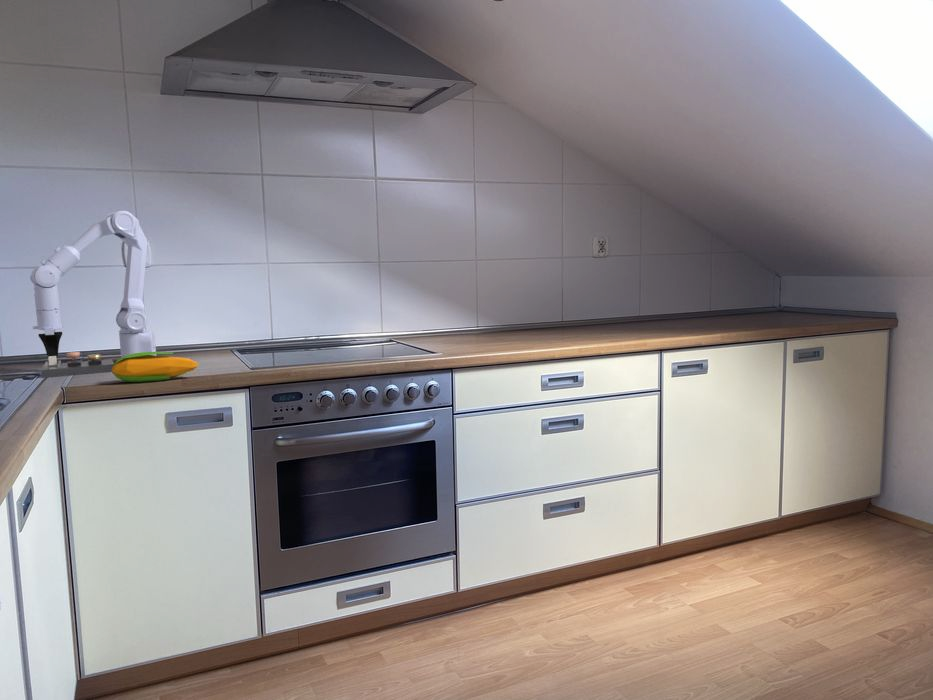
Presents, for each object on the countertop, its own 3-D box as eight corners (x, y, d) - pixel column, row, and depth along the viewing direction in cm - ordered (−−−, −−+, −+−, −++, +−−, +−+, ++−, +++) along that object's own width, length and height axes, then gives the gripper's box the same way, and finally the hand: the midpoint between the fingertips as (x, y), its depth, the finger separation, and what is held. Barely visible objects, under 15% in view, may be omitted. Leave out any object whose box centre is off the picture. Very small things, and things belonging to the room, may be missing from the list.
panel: (112, 366, 199) (111, 355, 199) (114, 371, 190) (113, 360, 189) (43, 371, 191) (42, 361, 191) (42, 377, 182) (41, 366, 181)
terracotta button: (80, 358, 192) (79, 351, 191) (80, 360, 189) (79, 352, 189) (67, 359, 190) (66, 352, 190) (67, 361, 187) (66, 353, 187)
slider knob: (57, 363, 190) (56, 355, 190) (56, 364, 189) (56, 356, 188) (49, 364, 189) (48, 356, 189) (49, 365, 188) (48, 357, 187)
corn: (112, 351, 174) (197, 346, 181) (115, 380, 175) (199, 374, 182) (108, 356, 167) (197, 351, 174) (111, 387, 169) (199, 380, 175)
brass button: (101, 361, 194) (100, 353, 194) (101, 362, 191) (100, 355, 191) (88, 362, 193) (87, 354, 192) (88, 363, 190) (87, 356, 190)
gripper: (32, 308, 195) (37, 356, 197) (29, 312, 182) (34, 363, 184) (61, 307, 198) (66, 354, 200) (60, 310, 186) (65, 360, 188)
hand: (53, 358), depth 193 cm, fingers closed
